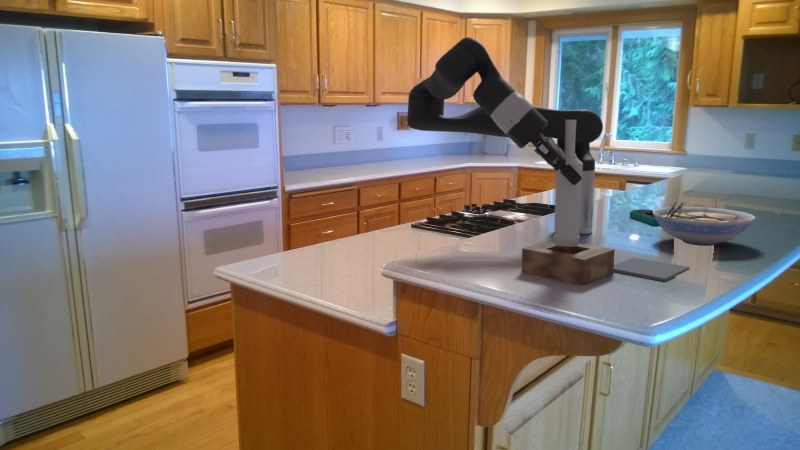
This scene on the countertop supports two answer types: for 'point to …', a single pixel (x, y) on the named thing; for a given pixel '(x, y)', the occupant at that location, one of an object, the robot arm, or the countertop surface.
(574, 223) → the bottle
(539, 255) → the walnut holder
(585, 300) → the countertop surface
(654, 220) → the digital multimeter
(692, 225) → the ramen bowl
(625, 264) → the slate mat
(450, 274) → the countertop surface
